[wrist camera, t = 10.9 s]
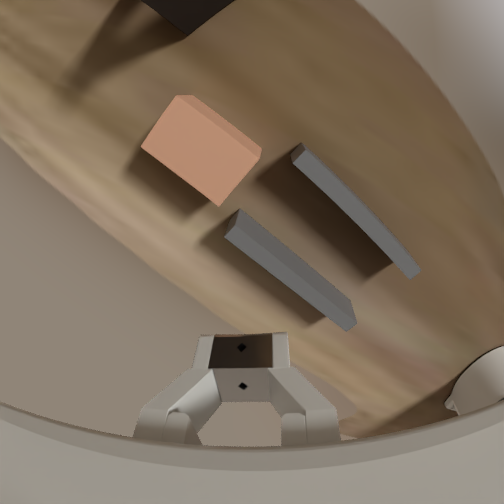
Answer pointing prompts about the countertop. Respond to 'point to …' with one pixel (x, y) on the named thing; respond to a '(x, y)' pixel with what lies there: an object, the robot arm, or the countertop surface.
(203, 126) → the block
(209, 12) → the phone stand
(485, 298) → the countertop surface
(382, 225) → the channel
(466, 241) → the countertop surface
